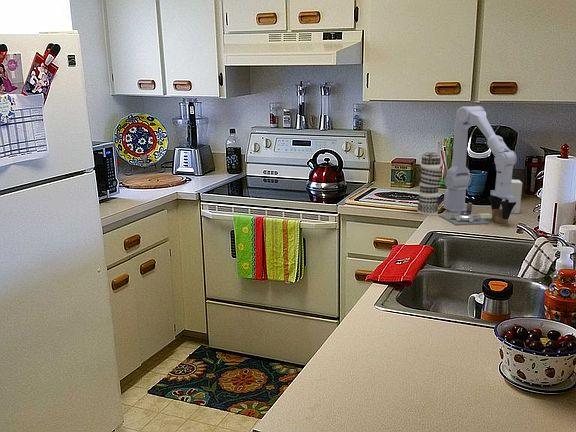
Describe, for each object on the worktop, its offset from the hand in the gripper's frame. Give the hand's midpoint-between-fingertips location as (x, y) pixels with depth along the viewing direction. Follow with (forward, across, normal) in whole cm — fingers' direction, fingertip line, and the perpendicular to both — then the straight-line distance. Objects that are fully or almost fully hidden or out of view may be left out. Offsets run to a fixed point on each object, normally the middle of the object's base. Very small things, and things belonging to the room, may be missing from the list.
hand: (500, 216), depth 241 cm
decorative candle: (+2, -20, -22) cm, 30 cm away
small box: (+2, -17, +14) cm, 23 cm away
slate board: (+2, -6, -12) cm, 14 cm away
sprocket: (+2, -5, -12) cm, 14 cm away
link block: (+2, 0, 0) cm, 2 cm away
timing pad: (+2, -9, -2) cm, 9 cm away
